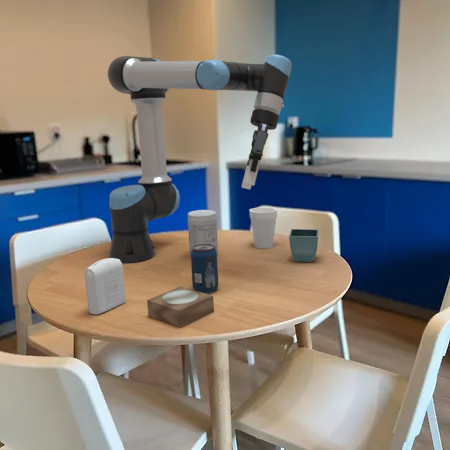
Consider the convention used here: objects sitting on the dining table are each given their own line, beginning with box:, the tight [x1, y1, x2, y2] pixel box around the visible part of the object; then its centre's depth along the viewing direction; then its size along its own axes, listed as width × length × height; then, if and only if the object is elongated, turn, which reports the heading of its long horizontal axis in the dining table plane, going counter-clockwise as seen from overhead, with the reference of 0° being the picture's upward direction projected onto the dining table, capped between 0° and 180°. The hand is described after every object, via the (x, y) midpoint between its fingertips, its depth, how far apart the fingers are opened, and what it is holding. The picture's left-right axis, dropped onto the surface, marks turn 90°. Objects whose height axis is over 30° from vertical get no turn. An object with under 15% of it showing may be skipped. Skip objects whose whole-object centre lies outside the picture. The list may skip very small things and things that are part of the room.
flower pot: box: [288, 228, 320, 263], centre depth 150 cm, size 9×9×9 cm
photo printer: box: [84, 257, 126, 315], centre depth 119 cm, size 10×4×12 cm, turn 147°
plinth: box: [146, 286, 215, 328], centre depth 114 cm, size 11×11×4 cm
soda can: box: [190, 244, 219, 294], centre depth 128 cm, size 7×7×12 cm
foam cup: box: [249, 206, 278, 250], centre depth 167 cm, size 10×9×13 cm
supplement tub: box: [187, 209, 219, 257], centre depth 159 cm, size 10×10×15 cm
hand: (247, 186), depth 133 cm, fingers open, 13 cm apart
